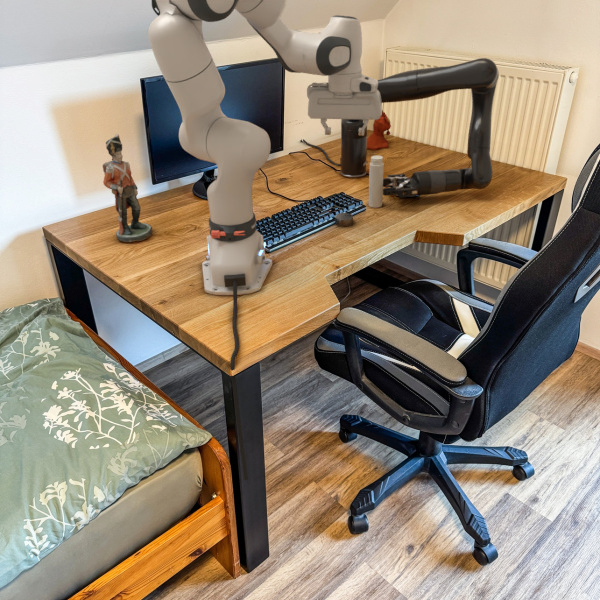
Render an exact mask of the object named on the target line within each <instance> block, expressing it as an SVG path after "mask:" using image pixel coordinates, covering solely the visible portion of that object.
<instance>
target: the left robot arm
mask: <svg viewBox="0 0 600 600" xmlns="http://www.w3.org/2000/svg"><path fill="white" fill-rule="evenodd" d="M286 5H287V0H151V9H152V10H153V12H154V13H155V15H157V16H156V17H155V18H154V19H153V20H152V21H151V23H150V25H149V27H148V31H147V35H148V41H149V44H150V48H151V50H152V53H153V56H154V58H155V61H156V63H157V65H158V68H159V71H160V72H161V75H162V76H163V79H164V80H165V82H166V84H167V85H168V88H169V90H170V92H171V94H172V96H173V98H174V100H175V102H176V105H177V106H178V108H179V111H180V115H181V123H180V127H179V129H178V140H179V144H180V146H181V148H182V150H184V151H185V152H186V153H188V155H189V154H190V155H191V156H192V157H195V158H196V159H198V160H201V161H204V162H209V163H213V164H215V165H216V167H217V177H216V179H215V180H213V181H212V182H211V183H210V184H209V185H208V186H207V190H206V195H207V203H208V212H209V218H208V229H209V234H208V235H207V236H206V243H207V249H208V255H206V256H205V260H204V261H203V262H202V263H201V268H202V278H203V290H204V292H205V293H207V294H210V295H214V296H232V300H233V301H232V303H233V305H232V306H233V307H232V324H231V325H232V334H233V339H234V349H233V351H232V354H231V356H230V361H229V363H230V365H229V366H230V367H229V370H230V371H235V368H236V359H237V356H238V353H239V350H240V338H239V332H238V324H237V323H238V322H237V320H238V296H239V295H240V296H241V295H249V294H253V293H256V292H259V291H260V290H261V288H262V287H263V286H264V283H265V280H266V278H267V276H268V274H269V273H270V271H271V268H272V266H273V265H274V264H273V260H272V259H271V258H268V257H266V249H265V248H266V246H267V243H266V241H264V235H263V234H262V233H260V232H259V231H258V230H257V218H256V214H255V212H254V205H253V204H254V201H253V184H254V179H255V176H256V174H257V172H258V170H260V169H261V168H262V167H264V165H266V163H267V161H268V159H269V157H270V154H271V149H272V148H271V145H272V144H271V139H270V136H269V134H268V132H267V131H266V130H265V129H264V128H262V127H260V126H258V125H256V124H254V123H252V122H251V121H248V120H247V121H246V120H243V119H242V120H241V119H236V118H230V117H228V116H227V115H225V114H224V112H223V111H222V108H221V103H222V101H223V100H224V98H225V94H226V87H225V83H224V80H223V79H222V76H221V74H220V73H219V70H218V68H217V65H216V62H215V60H214V59H213V56H212V54H211V52H210V50H209V47H208V46H207V44H206V42H205V38H204V34H203V21H204V22H206V23H215V22H220V21H223V20H225V19H226V18H228V17H230V15H231V14H232V13H233V12H234V10H235V11H237V13H239V14H240V15H241V16H242V17H243V18H245V20H246V21H247V22H248V24H249V25H250V26H251V27H252V28H253V30H254V31H255V32H256V33H257V34H258V35H259V36H260V38H262V40H264V41H265V43H266V44H268V46H269V47H270V48H271V49H272V50H273V52H274V53H275V55H276V57H277V60H278V61H279V63H280V65H281V66H282V68H283V69H284V70H285V71H287V72H289V73H295V74H308V75H314V76H322V77H327V81H328V82H312V83H311V84H309V85H308V86H307V88H306V97H307V99H308V103H307V105H308V106H307V116H308V117H309V119H313V120H314V119H315V120H316V119H317V120H318V119H319V120H320V125H321V126H322V127H323V129H324V136H330V135H331V134H332V131H331V130H332V127H331V126H328V124H327V121H328V120H341V119H363V123H365V124H364V125H363V127H362V128H359V133H358V135H359V136H364V129H365V127H366V126H367V127H368V124H369V122H370V121H371V120H373V121H375V120H378V119H379V118H380V117H381V115H382V110H383V103H382V101H381V95H380V92H379V91H378V90H377V88H378V80H379V79H376V78H375V77H371V76H368V75H365V74H363V73H362V71H363V70H362V65H361V58H362V55H363V33H362V26H361V22H360V20H359V18H357V17H355V16H351V15H350V16H349V15H340V14H339V15H337V14H336V15H333V16H330V19H329V21H328V24H327V25H326V26H325V27H323V29H322V30H320V31H319V32H307V31H301V30H295V29H292V28H291V27H290V28H289V27H288V26H287V24H286V23H285V22H284V21H283V20H282V18H281V17H282V15H283V14H284V11H285V8H286ZM230 380H231V388H232V395H233V404H234V414H235V421H236V430H237V437H238V444H239V450H240V458H241V465H242V473H243V480H244V481H248V480H249V475H248V468H247V466H248V465H247V459H246V458H247V457H246V451H245V445H244V437H243V436H244V435H243V427H242V420H241V413H240V411H241V410H240V403H239V394H238V385H237V384H238V383H237V377H236V375H230Z"/></svg>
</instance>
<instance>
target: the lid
mask: <svg viewBox="0 0 600 600" xmlns="http://www.w3.org/2000/svg"><path fill="white" fill-rule="evenodd" d="M353 223H354V216H353V214H351V213H348V212H339V213H337V214H336V215H335V216H334V224H335V225H336V226H337V227H342V228H345V227H351V226H353Z"/></svg>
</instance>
